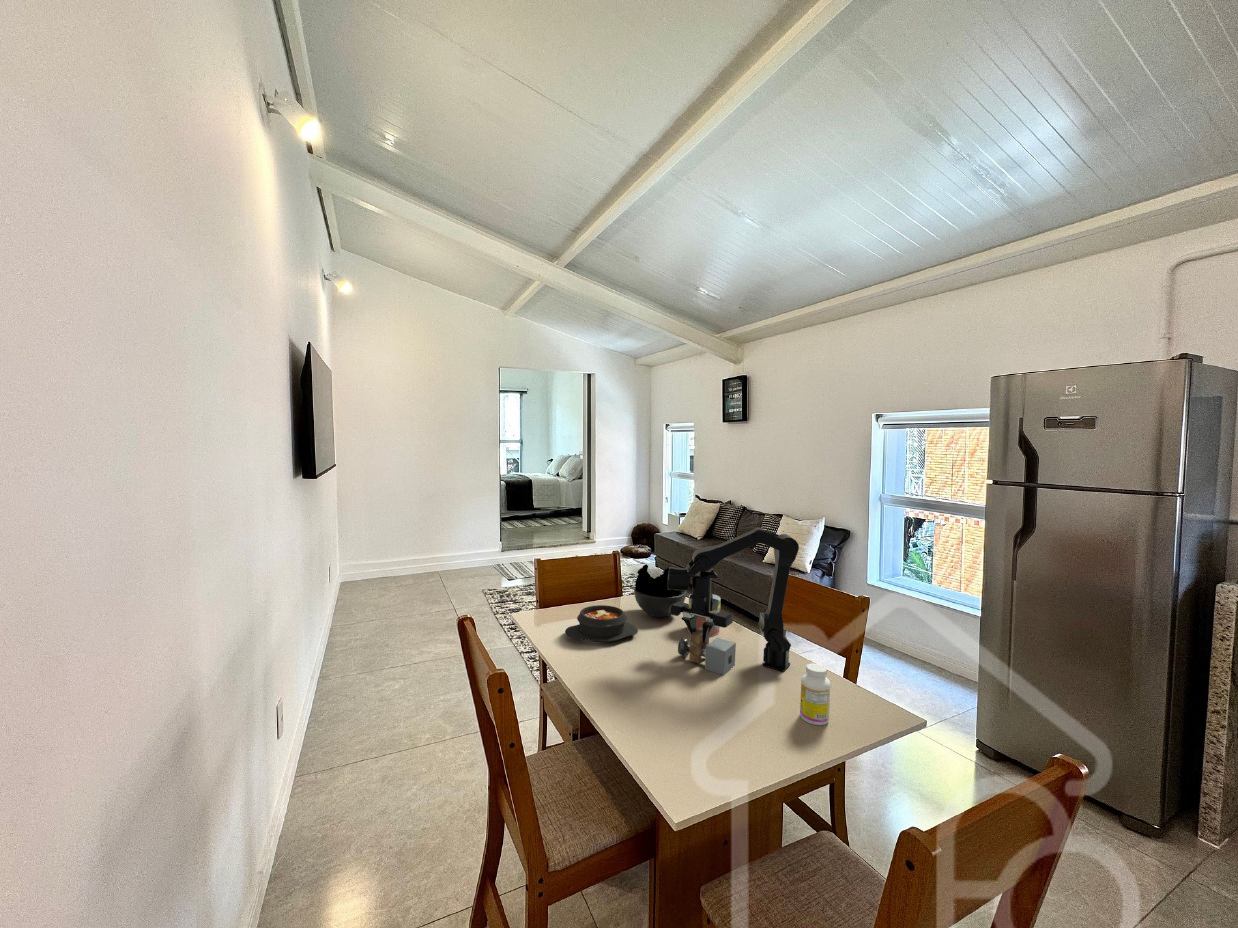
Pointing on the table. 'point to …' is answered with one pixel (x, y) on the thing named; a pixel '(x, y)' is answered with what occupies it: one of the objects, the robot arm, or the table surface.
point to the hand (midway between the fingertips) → (699, 641)
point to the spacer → (697, 645)
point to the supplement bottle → (815, 695)
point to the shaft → (687, 648)
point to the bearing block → (720, 656)
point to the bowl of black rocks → (656, 593)
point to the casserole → (601, 625)
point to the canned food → (701, 620)
